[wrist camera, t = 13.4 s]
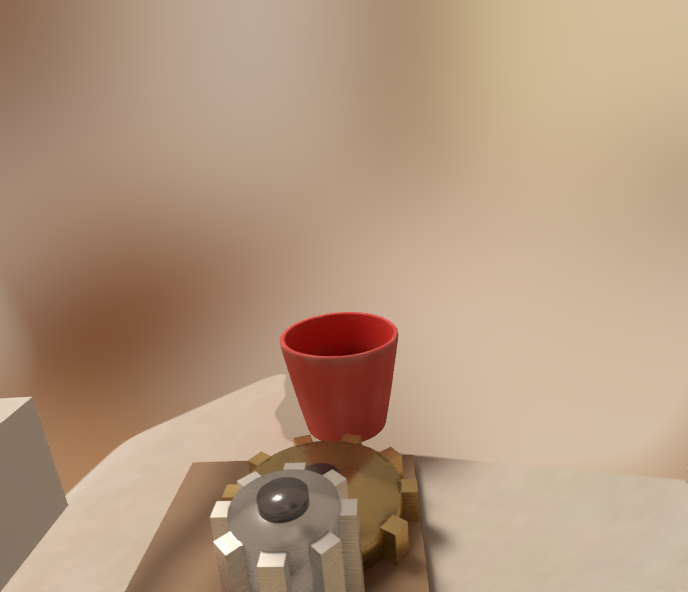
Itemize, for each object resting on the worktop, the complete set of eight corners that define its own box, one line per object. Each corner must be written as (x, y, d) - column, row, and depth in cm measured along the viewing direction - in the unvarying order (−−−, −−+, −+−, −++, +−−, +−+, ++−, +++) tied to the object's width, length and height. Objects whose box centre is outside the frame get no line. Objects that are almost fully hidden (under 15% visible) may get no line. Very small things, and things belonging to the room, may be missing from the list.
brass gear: (412, 456, 44) (410, 420, 43) (428, 595, 31) (426, 548, 30) (249, 462, 45) (244, 426, 44) (200, 599, 32) (190, 553, 31)
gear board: (413, 465, 44) (412, 452, 44) (449, 769, 24) (448, 750, 23) (194, 472, 46) (192, 459, 45) (45, 765, 25) (38, 747, 25)
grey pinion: (370, 604, 30) (358, 448, 27) (368, 734, 24) (352, 550, 21) (255, 604, 31) (230, 451, 28) (223, 731, 25) (185, 551, 21)
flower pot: (360, 470, 44) (352, 366, 41) (268, 433, 51) (255, 341, 48) (422, 413, 52) (419, 322, 49) (336, 387, 59) (328, 305, 56)
